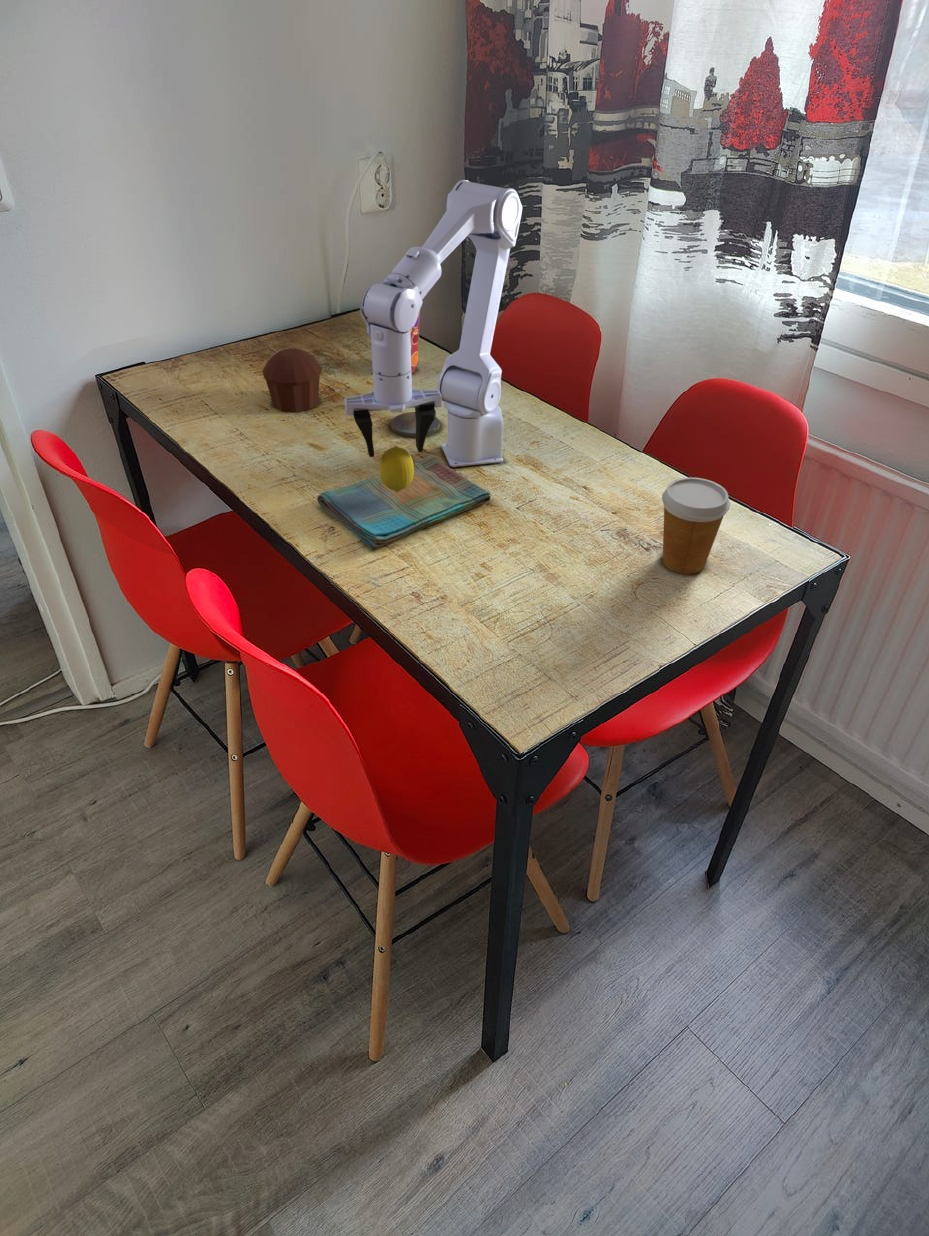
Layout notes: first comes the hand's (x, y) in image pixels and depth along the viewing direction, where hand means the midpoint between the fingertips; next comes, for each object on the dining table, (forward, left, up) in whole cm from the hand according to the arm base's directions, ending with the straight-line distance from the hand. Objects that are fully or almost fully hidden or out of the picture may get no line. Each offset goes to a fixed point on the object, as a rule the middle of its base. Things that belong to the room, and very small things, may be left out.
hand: (395, 451), depth 141 cm
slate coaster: (-8, -27, -10) cm, 29 cm away
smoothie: (-10, -53, -10) cm, 54 cm away
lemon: (0, 0, -7) cm, 7 cm away
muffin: (+13, -42, -10) cm, 45 cm away
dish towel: (-1, 0, -10) cm, 10 cm away
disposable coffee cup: (-39, +25, -10) cm, 48 cm away
